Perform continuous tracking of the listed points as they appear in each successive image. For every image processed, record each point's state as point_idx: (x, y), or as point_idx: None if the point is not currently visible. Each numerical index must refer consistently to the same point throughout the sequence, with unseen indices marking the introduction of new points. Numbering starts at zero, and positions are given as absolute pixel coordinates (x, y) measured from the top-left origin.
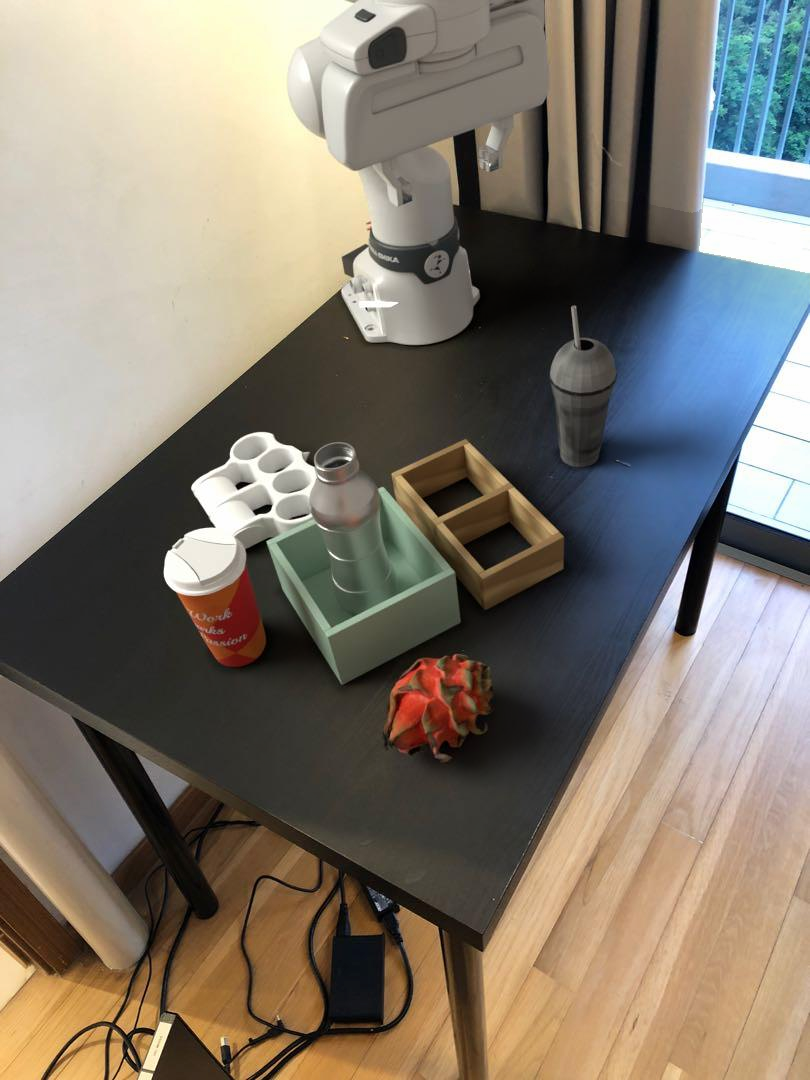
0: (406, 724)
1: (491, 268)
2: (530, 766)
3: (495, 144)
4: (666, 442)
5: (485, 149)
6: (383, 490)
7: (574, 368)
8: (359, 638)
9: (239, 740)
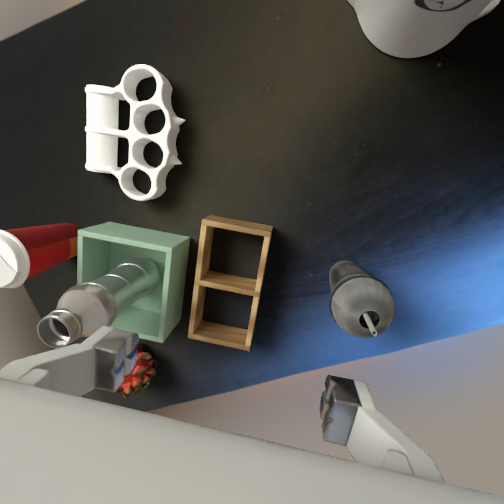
0: None
1: None
2: (155, 396)
3: (356, 447)
4: (397, 311)
5: (338, 419)
6: (169, 252)
7: (343, 322)
8: None
9: (48, 291)
